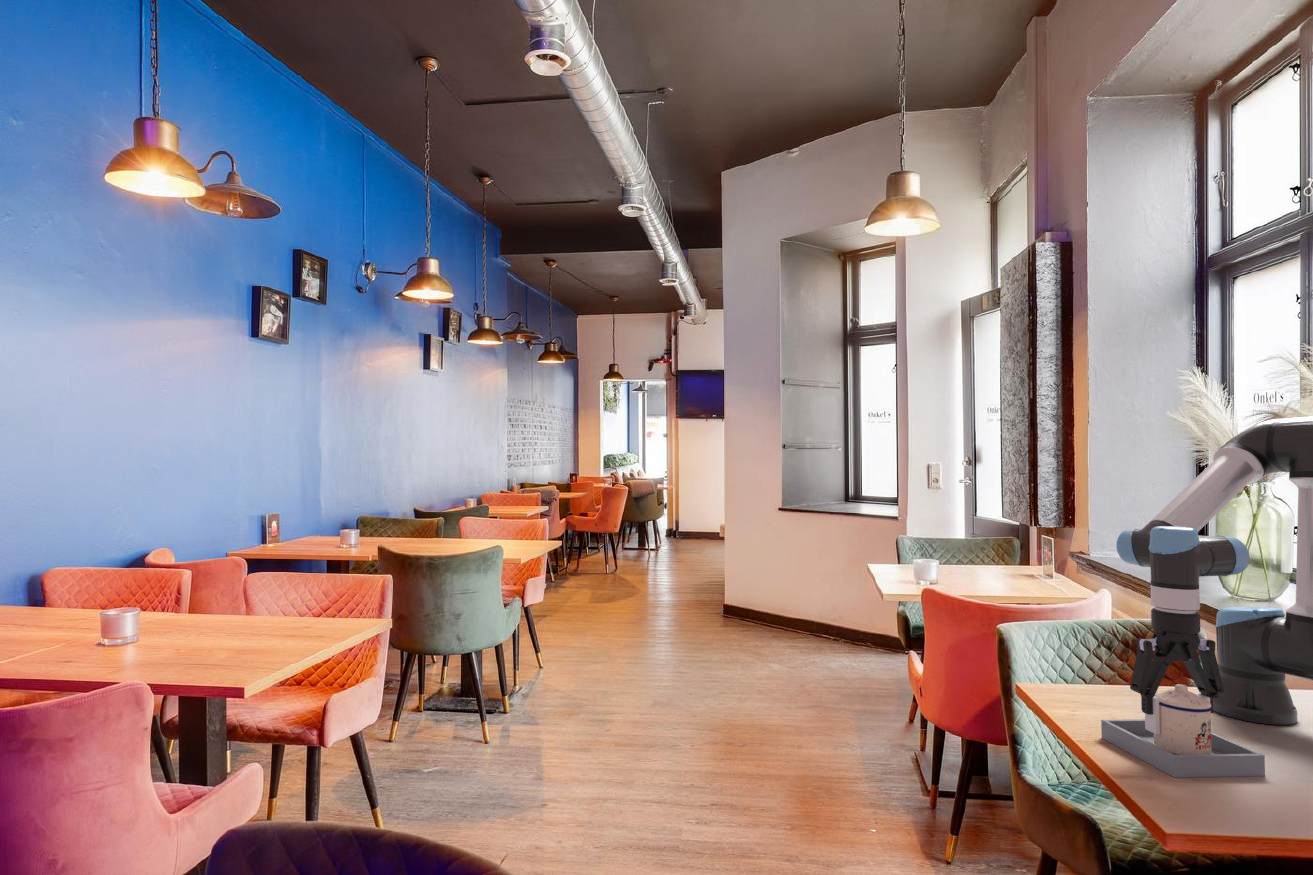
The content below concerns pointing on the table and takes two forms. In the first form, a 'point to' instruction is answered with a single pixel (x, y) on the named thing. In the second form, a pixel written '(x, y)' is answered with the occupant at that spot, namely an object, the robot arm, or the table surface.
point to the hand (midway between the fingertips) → (1177, 731)
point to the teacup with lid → (1183, 722)
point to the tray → (1219, 763)
